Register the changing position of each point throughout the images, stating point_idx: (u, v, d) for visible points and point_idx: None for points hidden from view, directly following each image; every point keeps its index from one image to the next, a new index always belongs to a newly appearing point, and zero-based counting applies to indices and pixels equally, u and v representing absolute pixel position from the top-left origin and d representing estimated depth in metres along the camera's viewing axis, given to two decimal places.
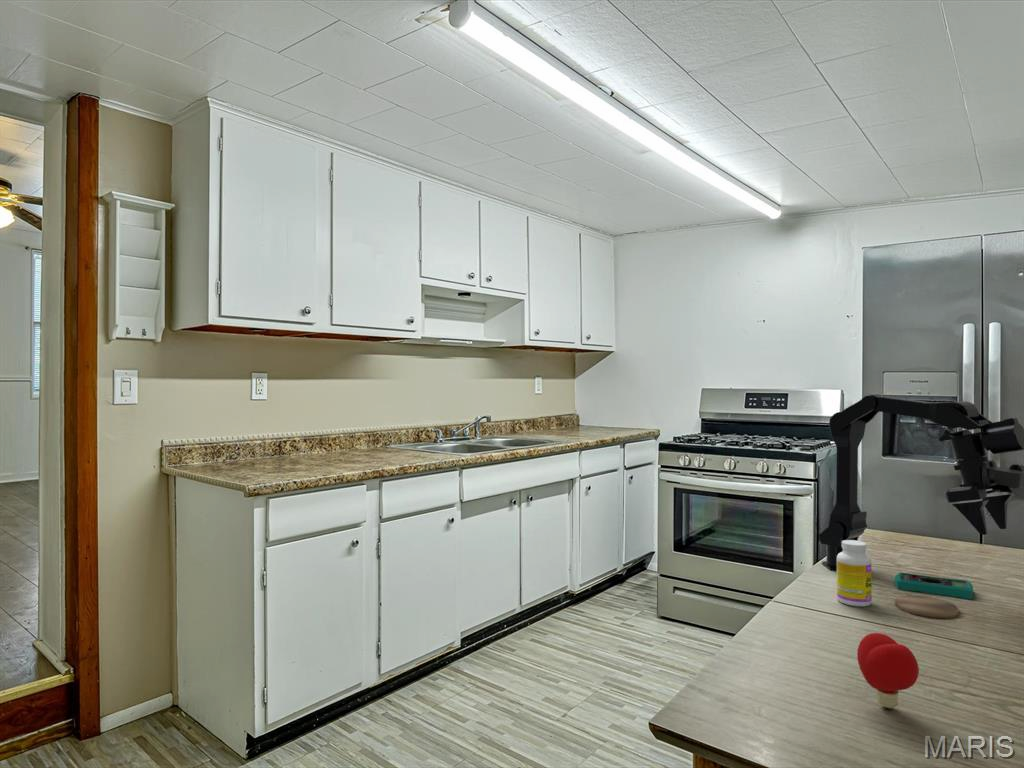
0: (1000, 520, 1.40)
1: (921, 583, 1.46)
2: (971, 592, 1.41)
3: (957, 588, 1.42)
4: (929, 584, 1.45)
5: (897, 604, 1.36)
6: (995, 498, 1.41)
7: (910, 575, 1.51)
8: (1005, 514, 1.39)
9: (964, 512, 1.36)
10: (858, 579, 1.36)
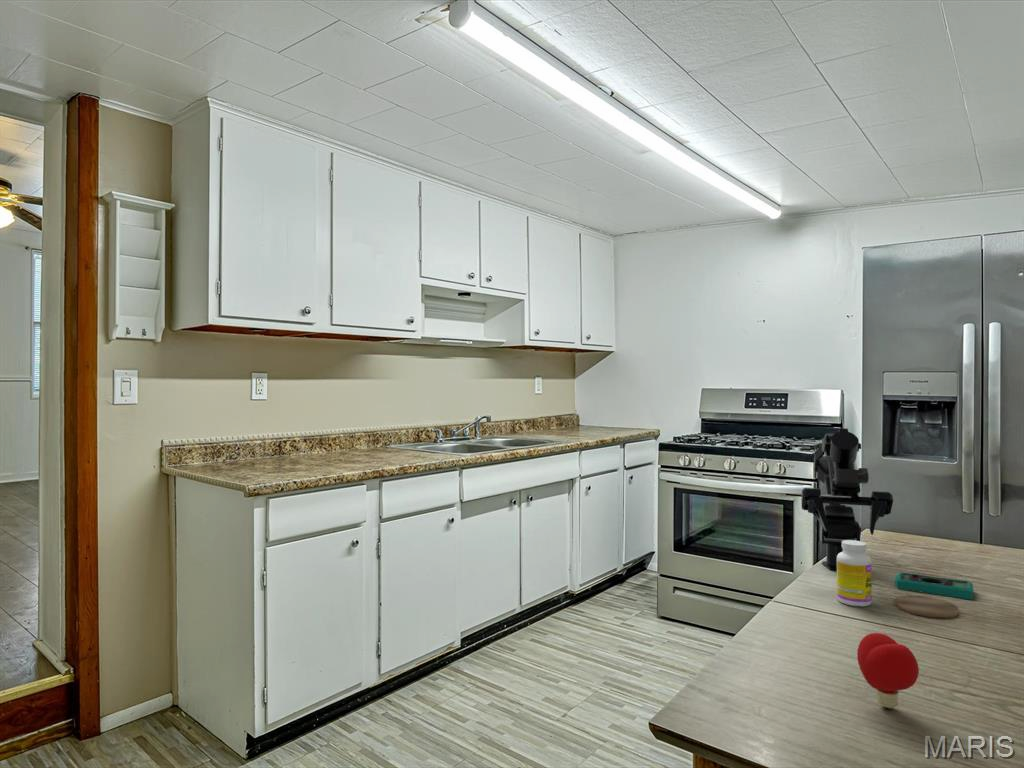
0: (870, 526, 1.46)
1: (920, 583, 1.46)
2: (970, 592, 1.40)
3: (956, 588, 1.42)
4: (929, 584, 1.45)
5: (897, 604, 1.36)
6: (871, 509, 1.49)
7: (911, 575, 1.52)
8: (872, 519, 1.46)
9: (816, 516, 1.53)
10: (858, 579, 1.36)
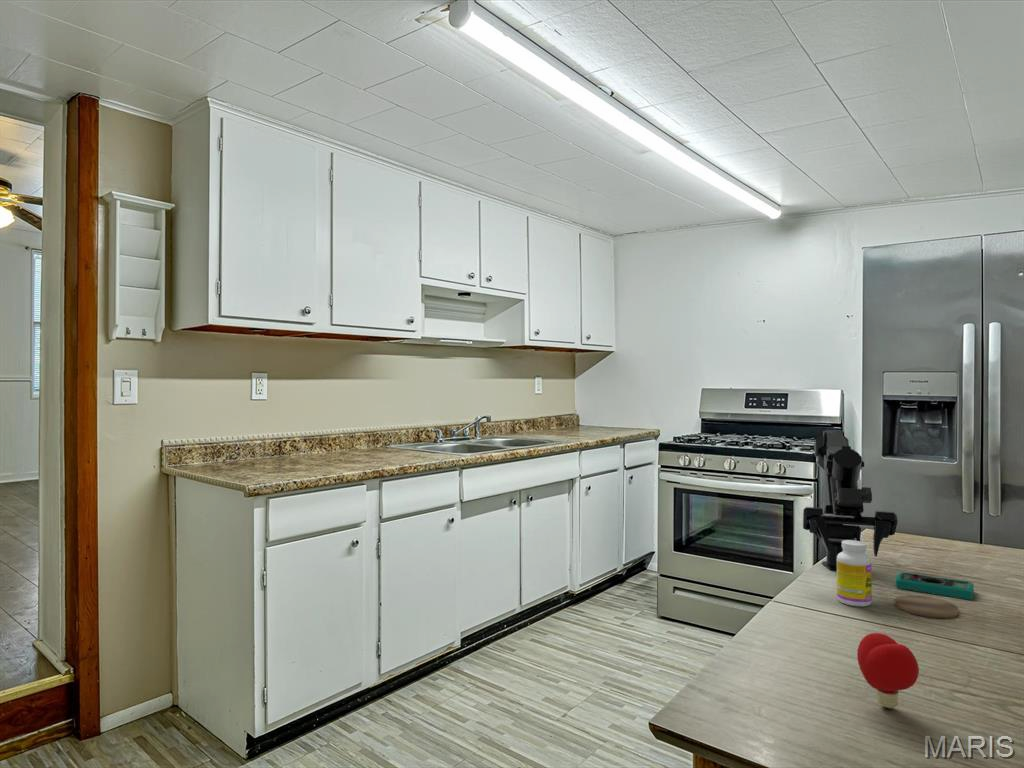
0: (874, 547, 1.41)
1: (920, 583, 1.46)
2: (970, 593, 1.40)
3: (956, 588, 1.42)
4: (928, 584, 1.45)
5: (897, 604, 1.36)
6: (874, 529, 1.44)
7: (912, 575, 1.52)
8: (876, 541, 1.41)
9: (818, 536, 1.48)
10: (858, 579, 1.36)
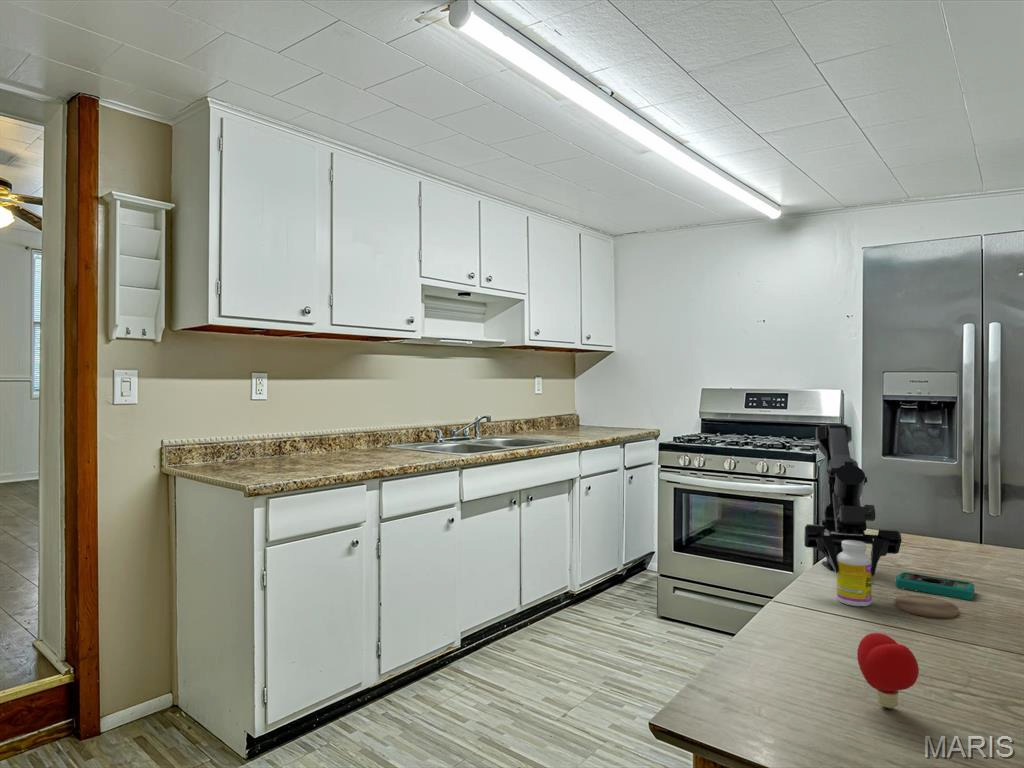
0: (871, 566, 1.38)
1: (920, 582, 1.46)
2: (969, 593, 1.40)
3: (955, 589, 1.42)
4: (928, 584, 1.45)
5: (897, 604, 1.36)
6: (872, 547, 1.41)
7: (913, 575, 1.52)
8: (874, 559, 1.38)
9: (826, 555, 1.44)
10: (858, 579, 1.36)
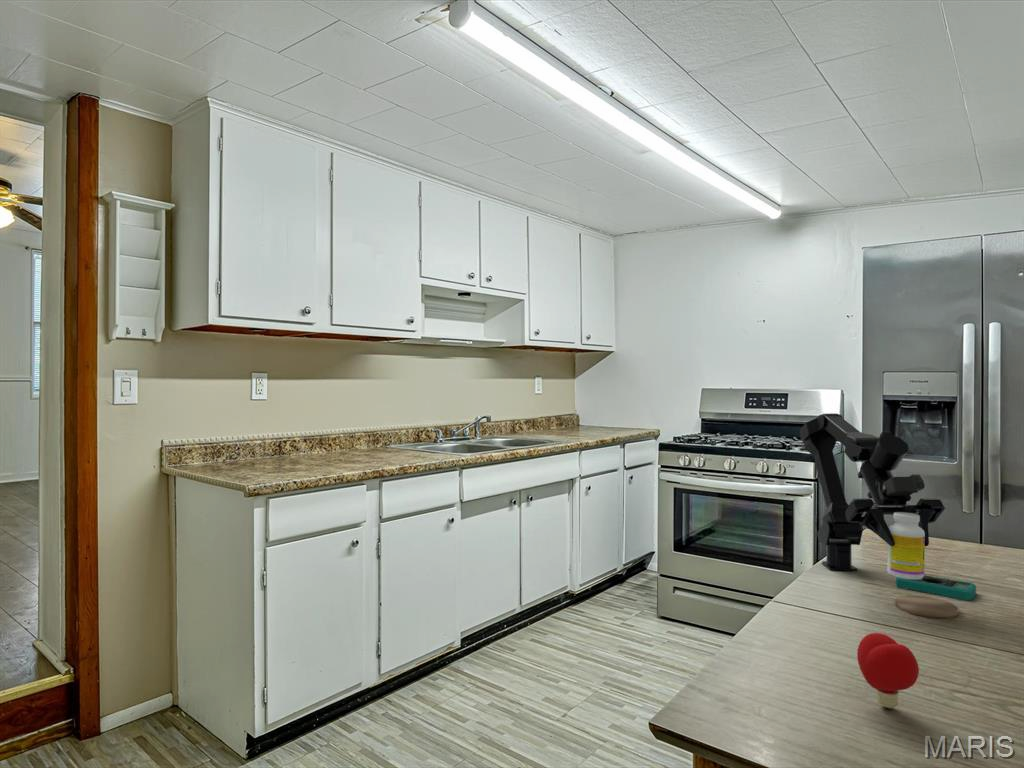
0: None
1: (919, 582, 1.46)
2: (968, 593, 1.40)
3: (954, 589, 1.42)
4: (927, 584, 1.45)
5: (897, 604, 1.36)
6: None
7: None
8: (925, 530, 1.35)
9: (873, 529, 1.39)
10: (917, 551, 1.32)
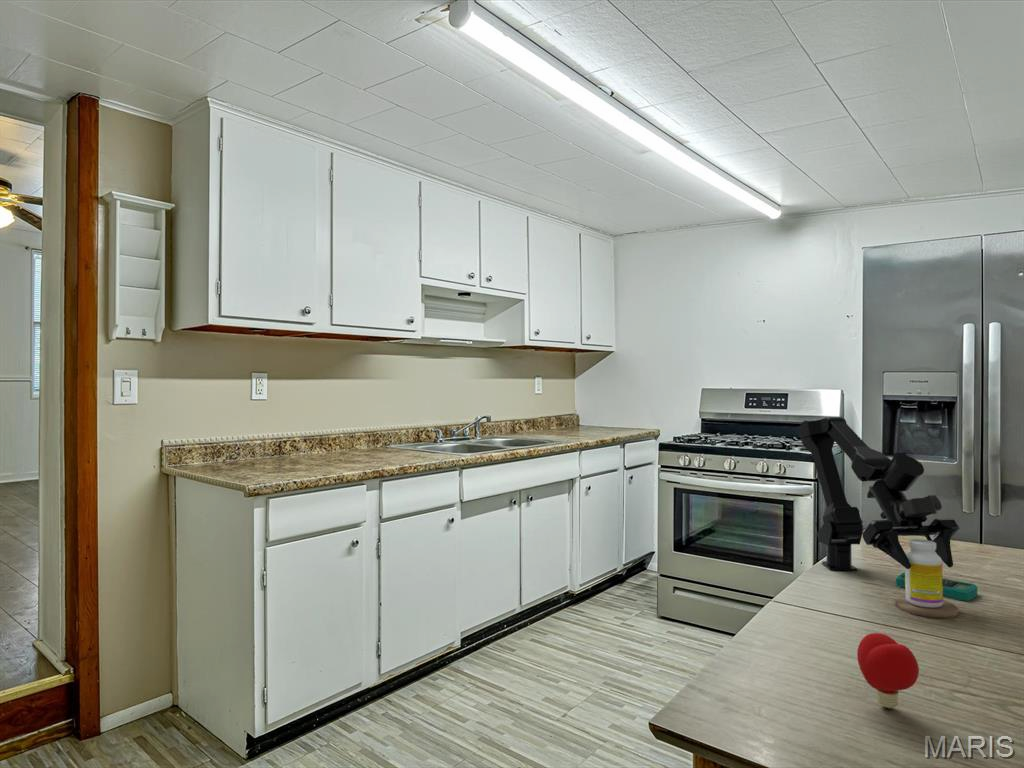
0: (945, 558, 1.35)
1: None
2: (966, 594, 1.39)
3: (952, 589, 1.41)
4: None
5: (897, 604, 1.36)
6: (936, 538, 1.39)
7: None
8: (948, 551, 1.35)
9: (886, 551, 1.38)
10: (936, 579, 1.32)
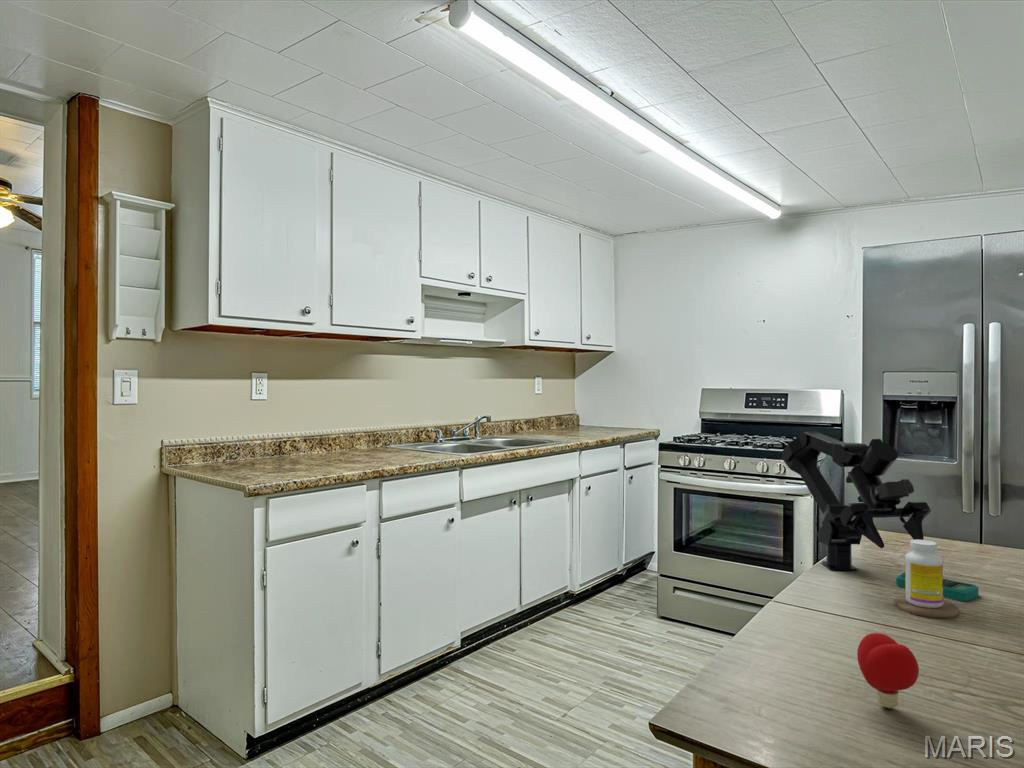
0: (917, 538, 1.43)
1: None
2: (964, 594, 1.39)
3: (951, 589, 1.41)
4: None
5: (897, 604, 1.36)
6: (909, 520, 1.47)
7: None
8: (919, 531, 1.44)
9: (862, 532, 1.46)
10: (937, 580, 1.32)
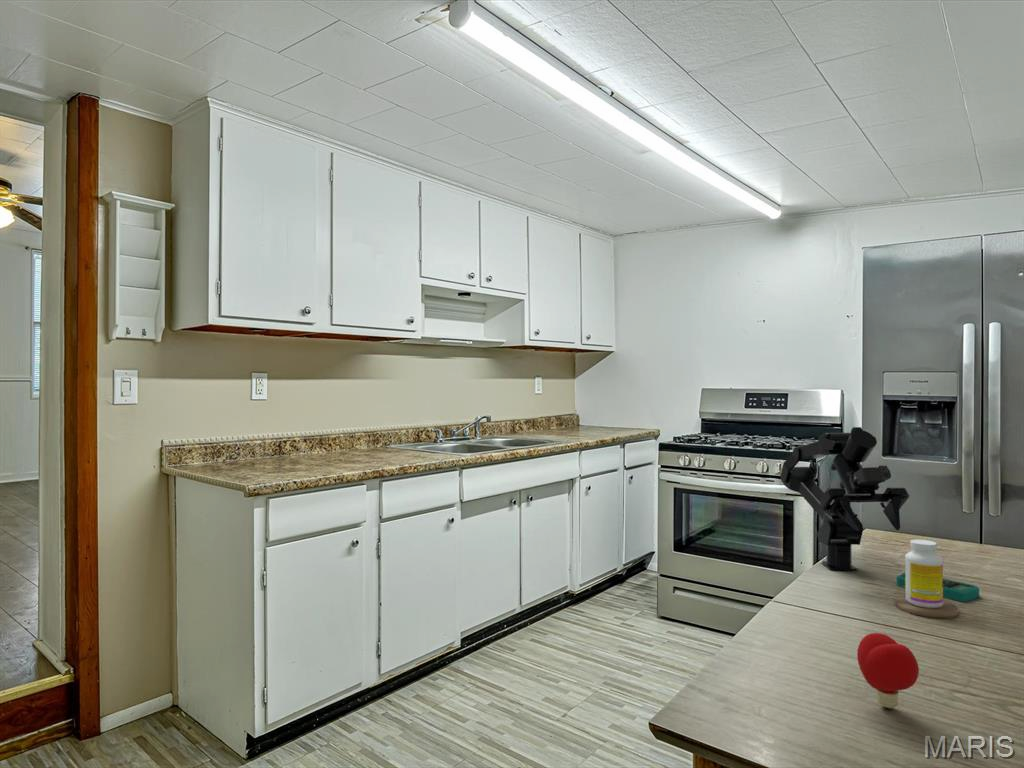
0: (894, 522, 1.49)
1: None
2: (962, 595, 1.39)
3: (950, 589, 1.41)
4: None
5: (897, 604, 1.36)
6: (888, 505, 1.53)
7: None
8: (896, 515, 1.49)
9: (840, 515, 1.52)
10: (937, 580, 1.32)
